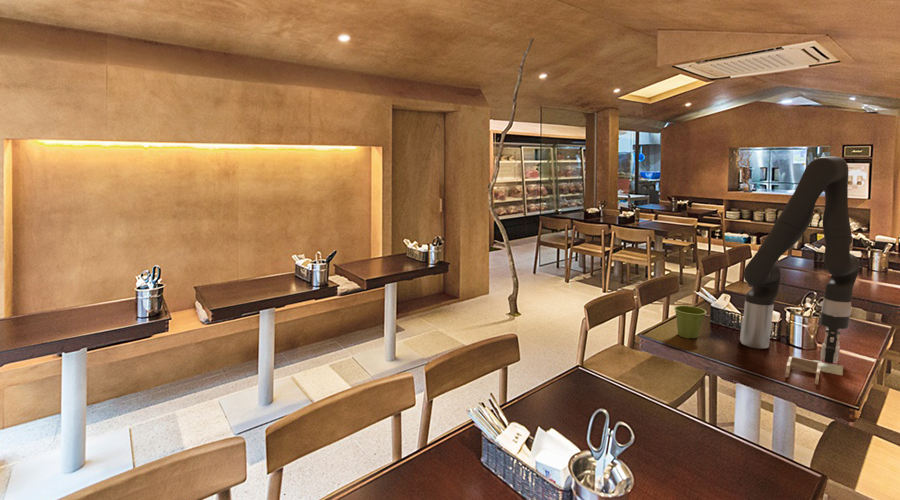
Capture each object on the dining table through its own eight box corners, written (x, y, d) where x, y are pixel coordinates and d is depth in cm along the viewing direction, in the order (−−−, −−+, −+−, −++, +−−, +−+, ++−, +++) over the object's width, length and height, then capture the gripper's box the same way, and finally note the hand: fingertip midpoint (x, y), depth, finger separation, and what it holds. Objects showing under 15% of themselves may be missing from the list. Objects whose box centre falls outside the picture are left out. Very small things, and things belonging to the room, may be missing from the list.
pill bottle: (840, 366, 157) (844, 342, 155) (824, 365, 158) (828, 341, 156) (832, 360, 161) (835, 337, 160) (816, 359, 162) (820, 336, 161)
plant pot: (705, 342, 184) (707, 315, 182) (671, 338, 189) (674, 311, 187) (703, 333, 194) (705, 307, 192) (671, 329, 199) (674, 304, 197)
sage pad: (813, 361, 166) (813, 360, 166) (842, 367, 161) (843, 366, 160) (812, 369, 160) (812, 367, 160) (842, 375, 155) (842, 374, 154)
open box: (788, 366, 162) (789, 355, 161) (819, 373, 156) (821, 362, 156) (785, 376, 154) (786, 365, 153) (817, 384, 149) (819, 372, 148)
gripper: (822, 305, 164) (816, 351, 167) (820, 315, 153) (813, 364, 157) (850, 309, 159) (843, 356, 162) (850, 320, 149) (842, 370, 152)
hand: (828, 359), depth 159 cm, fingers closed on pill bottle, 4 cm apart
